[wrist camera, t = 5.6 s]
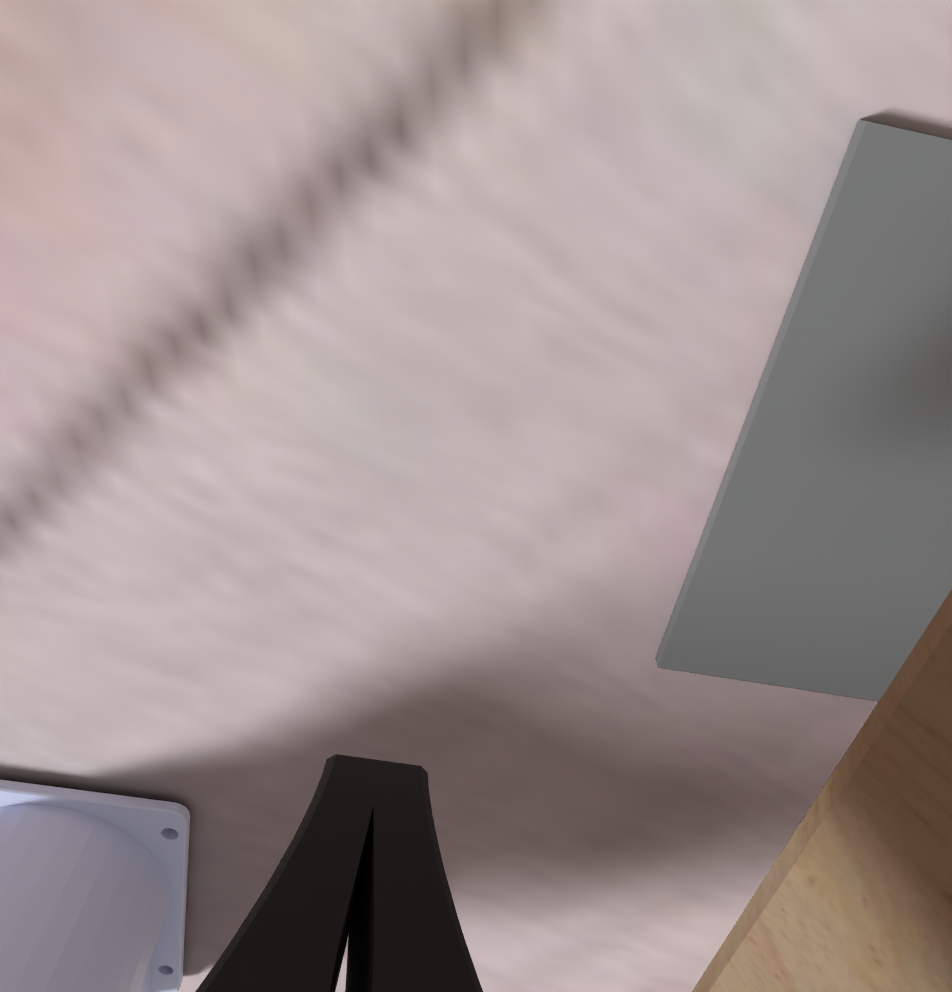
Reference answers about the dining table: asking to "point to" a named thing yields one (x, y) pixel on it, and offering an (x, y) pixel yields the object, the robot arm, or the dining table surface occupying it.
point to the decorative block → (865, 857)
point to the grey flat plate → (841, 449)
